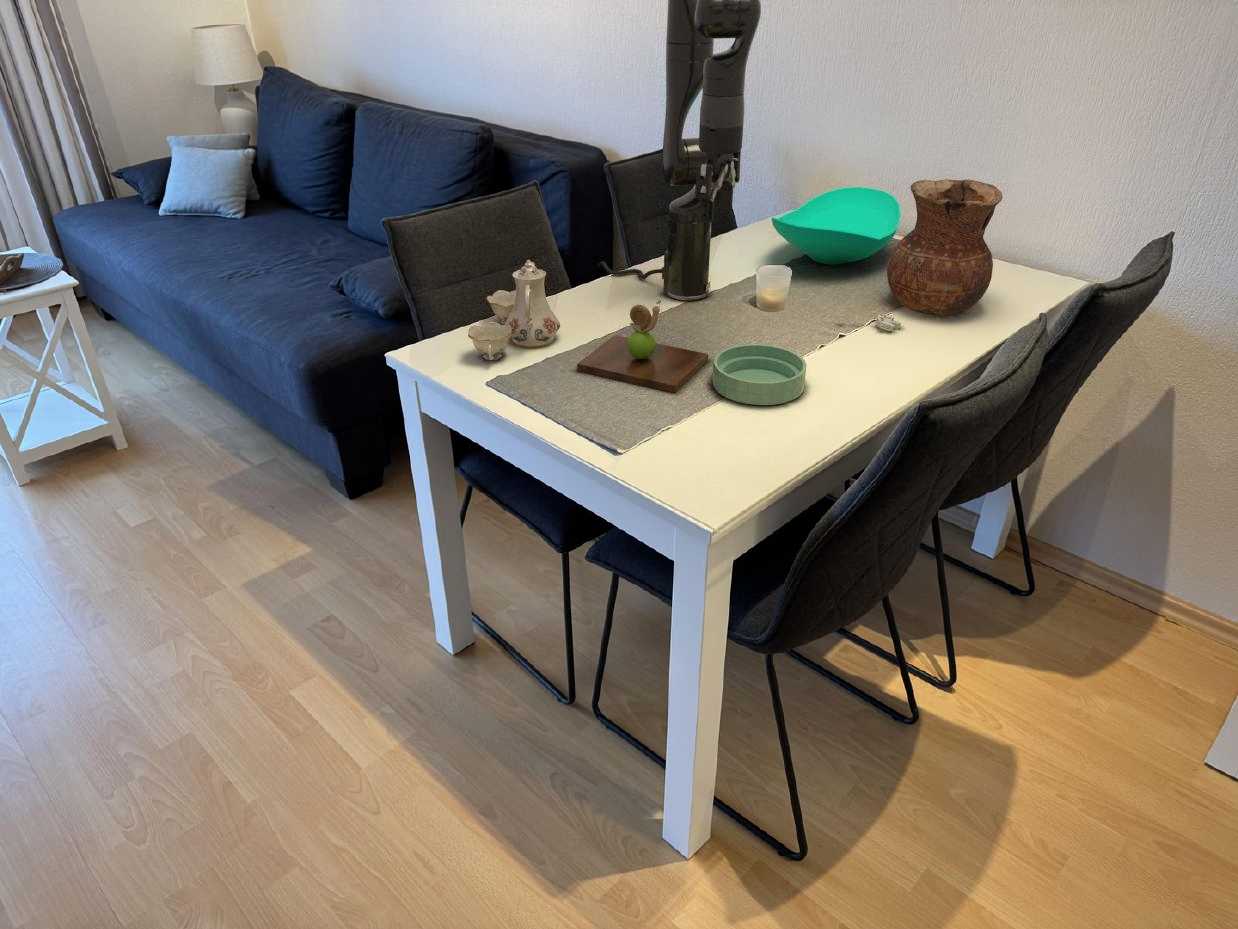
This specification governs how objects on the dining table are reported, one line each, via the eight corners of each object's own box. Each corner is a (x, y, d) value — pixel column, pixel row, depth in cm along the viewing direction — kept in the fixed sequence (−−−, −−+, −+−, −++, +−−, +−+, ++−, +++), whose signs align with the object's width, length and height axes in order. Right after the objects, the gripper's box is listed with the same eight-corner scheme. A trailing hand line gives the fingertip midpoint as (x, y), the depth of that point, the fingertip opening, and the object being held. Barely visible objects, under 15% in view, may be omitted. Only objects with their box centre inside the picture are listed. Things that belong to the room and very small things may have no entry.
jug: (973, 331, 177) (1000, 207, 164) (870, 312, 186) (888, 193, 173) (992, 296, 193) (1018, 180, 180) (897, 280, 202) (915, 169, 189)
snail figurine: (651, 367, 160) (652, 305, 154) (621, 360, 163) (621, 298, 157) (665, 356, 164) (667, 295, 158) (636, 349, 167) (636, 289, 161)
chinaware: (488, 319, 188) (473, 243, 180) (565, 310, 188) (553, 234, 179) (471, 376, 165) (452, 293, 156) (558, 367, 164) (545, 282, 155)
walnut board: (577, 370, 163) (576, 363, 162) (615, 341, 174) (615, 334, 173) (674, 393, 155) (675, 385, 154) (708, 360, 166) (708, 353, 165)
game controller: (904, 331, 177) (906, 319, 176) (850, 336, 175) (852, 324, 174) (892, 321, 182) (894, 309, 180) (839, 325, 180) (841, 313, 179)
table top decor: (847, 295, 194) (855, 236, 188) (740, 270, 209) (744, 214, 202) (916, 249, 221) (925, 196, 214) (817, 230, 236) (822, 180, 229)
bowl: (698, 394, 154) (699, 371, 152) (732, 359, 166) (733, 337, 164) (786, 414, 148) (789, 390, 145) (815, 376, 160) (818, 354, 158)
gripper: (718, 111, 157) (713, 202, 166) (684, 127, 147) (680, 222, 155) (757, 115, 154) (750, 208, 163) (725, 131, 144) (719, 229, 152)
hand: (716, 215), depth 159 cm, fingers open, 8 cm apart
